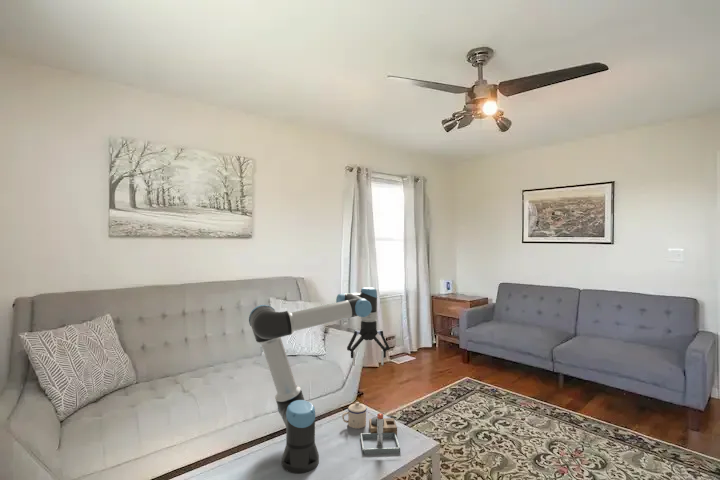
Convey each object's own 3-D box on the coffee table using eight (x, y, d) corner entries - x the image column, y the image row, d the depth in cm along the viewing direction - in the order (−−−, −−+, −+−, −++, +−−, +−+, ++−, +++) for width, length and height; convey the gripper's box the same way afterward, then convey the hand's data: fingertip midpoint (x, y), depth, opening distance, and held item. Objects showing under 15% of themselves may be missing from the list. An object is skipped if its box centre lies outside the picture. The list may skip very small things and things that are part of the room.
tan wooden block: (371, 438, 180) (371, 423, 180) (369, 428, 189) (369, 414, 189) (396, 438, 181) (397, 422, 181) (393, 428, 190) (393, 413, 189)
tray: (362, 456, 166) (362, 449, 166) (360, 439, 179) (360, 433, 179) (400, 455, 167) (400, 448, 167) (395, 438, 180) (395, 432, 180)
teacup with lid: (363, 420, 197) (363, 397, 197) (368, 429, 188) (368, 405, 188) (340, 423, 194) (340, 400, 194) (344, 432, 185) (344, 408, 185)
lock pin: (377, 447, 172) (377, 416, 171) (376, 444, 174) (377, 413, 174) (383, 447, 172) (383, 416, 171) (382, 444, 174) (382, 413, 174)
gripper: (342, 322, 181) (342, 367, 182) (396, 321, 183) (395, 366, 184) (342, 318, 189) (341, 362, 189) (393, 318, 191) (392, 361, 191)
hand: (368, 364), depth 187 cm, fingers open, 13 cm apart
